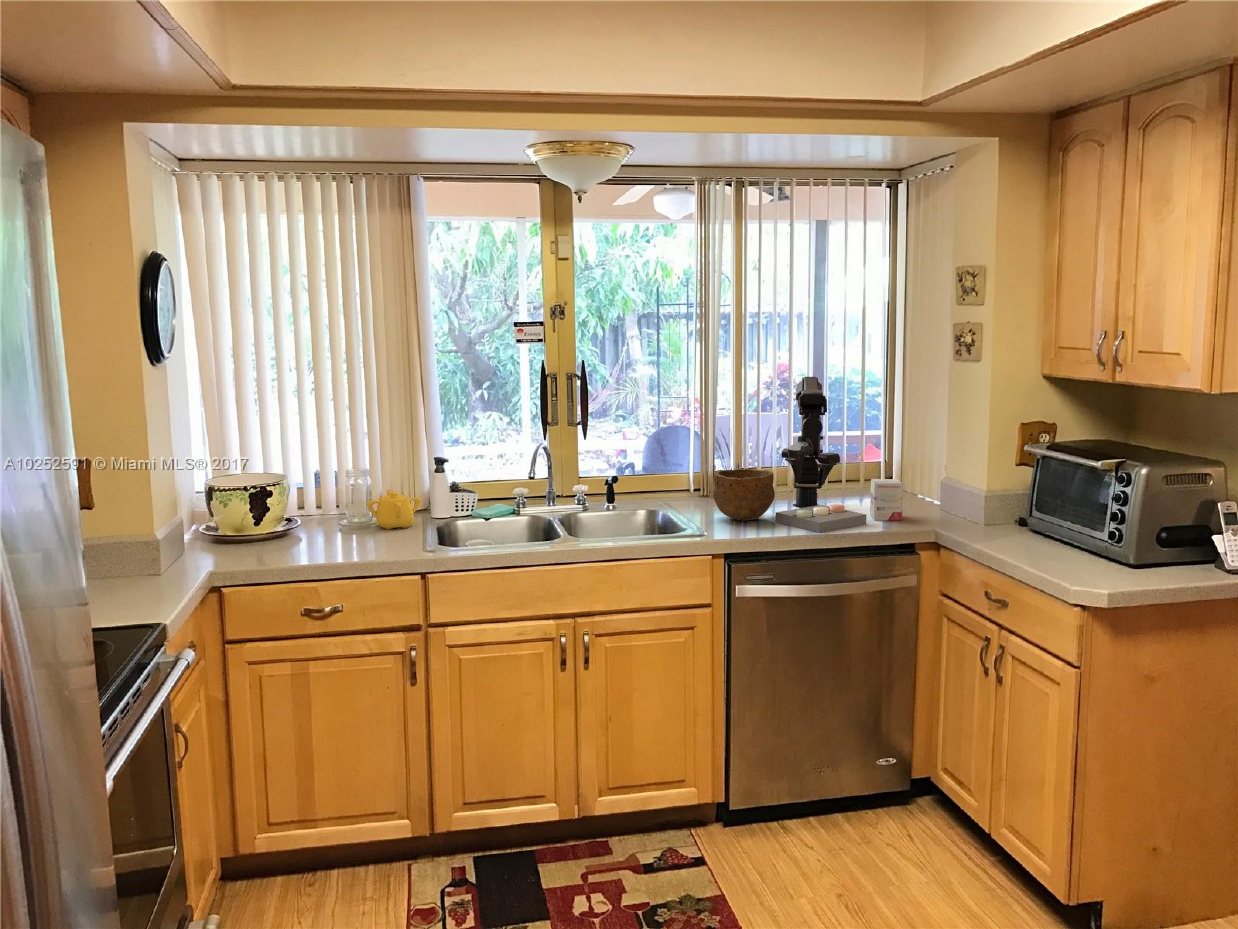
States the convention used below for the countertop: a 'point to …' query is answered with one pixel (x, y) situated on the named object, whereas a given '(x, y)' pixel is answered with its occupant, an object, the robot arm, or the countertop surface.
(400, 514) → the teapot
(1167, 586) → the countertop surface
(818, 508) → the cream button
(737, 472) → the bowl
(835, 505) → the orange button
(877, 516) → the ink box
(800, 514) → the sage button
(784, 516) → the panel
